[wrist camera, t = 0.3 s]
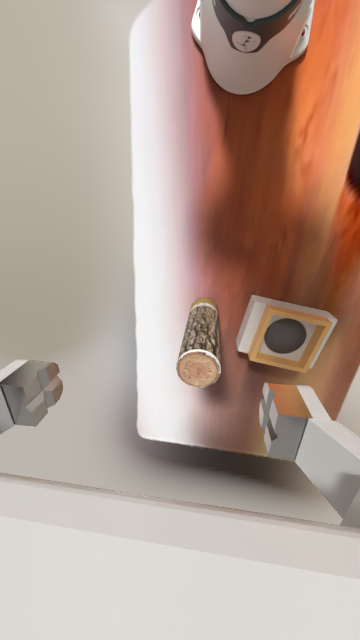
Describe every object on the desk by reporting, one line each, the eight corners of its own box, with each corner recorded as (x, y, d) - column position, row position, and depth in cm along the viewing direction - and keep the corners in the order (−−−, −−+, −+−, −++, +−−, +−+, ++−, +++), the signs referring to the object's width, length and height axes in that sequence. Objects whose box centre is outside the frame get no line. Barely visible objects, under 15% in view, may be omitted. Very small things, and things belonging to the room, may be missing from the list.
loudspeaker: (251, 294, 55) (257, 306, 47) (327, 311, 54) (345, 326, 47) (235, 340, 60) (238, 357, 53) (304, 356, 59) (316, 376, 52)
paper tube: (187, 318, 59) (172, 381, 37) (194, 293, 56) (181, 345, 34) (213, 325, 59) (213, 392, 37) (221, 300, 56) (226, 357, 34)
